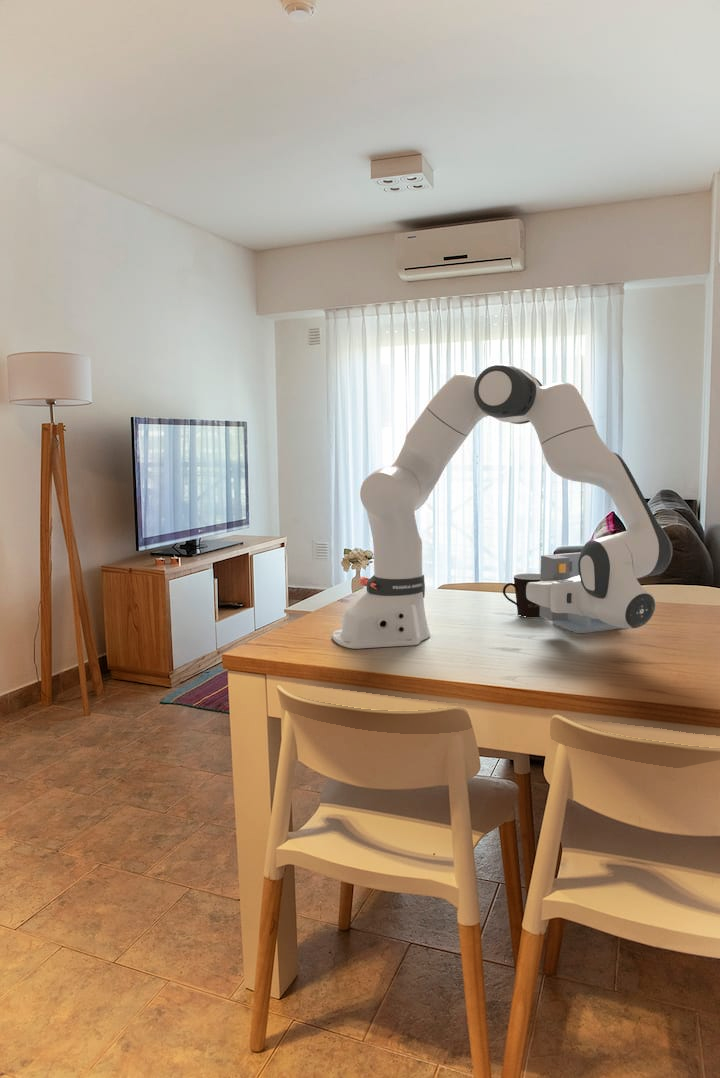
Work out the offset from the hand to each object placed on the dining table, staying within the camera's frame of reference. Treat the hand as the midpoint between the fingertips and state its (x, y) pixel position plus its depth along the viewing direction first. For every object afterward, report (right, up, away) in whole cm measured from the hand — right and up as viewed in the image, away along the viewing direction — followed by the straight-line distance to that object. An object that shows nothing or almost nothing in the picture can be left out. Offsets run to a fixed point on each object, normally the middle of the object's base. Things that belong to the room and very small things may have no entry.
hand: (551, 583), depth 168 cm
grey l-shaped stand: (+11, -11, +9) cm, 18 cm away
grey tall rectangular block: (0, -8, 0) cm, 8 cm away
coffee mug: (-1, -10, +22) cm, 24 cm away
